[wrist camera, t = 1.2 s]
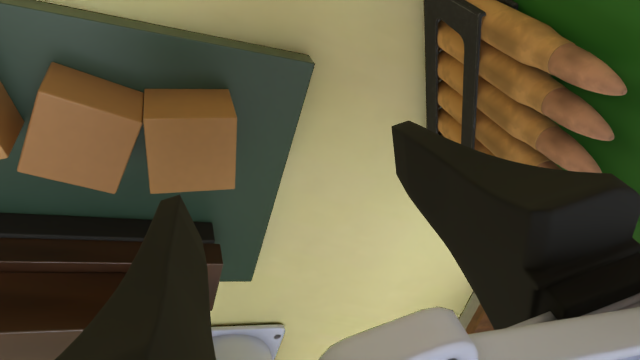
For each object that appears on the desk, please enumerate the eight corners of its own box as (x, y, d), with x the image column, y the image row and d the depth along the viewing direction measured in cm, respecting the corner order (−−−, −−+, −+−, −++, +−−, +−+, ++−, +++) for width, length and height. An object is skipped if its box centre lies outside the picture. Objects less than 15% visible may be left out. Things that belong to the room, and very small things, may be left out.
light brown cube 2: (119, 159, 23) (115, 195, 20) (31, 135, 21) (16, 172, 19) (144, 92, 21) (143, 123, 19) (51, 60, 19) (37, 90, 17)
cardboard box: (227, 156, 24) (235, 189, 22) (150, 159, 23) (150, 194, 21) (228, 88, 22) (237, 117, 20) (144, 88, 21) (142, 118, 19)
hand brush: (206, 272, 29) (218, 366, 24) (-77, 271, 23) (-143, 392, 18) (217, 222, 27) (233, 312, 22) (-90, 207, 21) (-167, 324, 16)
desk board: (248, 268, 31) (251, 281, 30) (-140, 265, 23) (-152, 282, 22) (309, 55, 24) (315, 63, 23) (-231, -54, 16) (-255, -47, 15)
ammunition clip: (423, -21, 23) (606, 72, 14) (458, -30, 23) (659, 56, 14) (427, 153, 30) (552, 295, 20) (453, 144, 30) (589, 281, 21)
